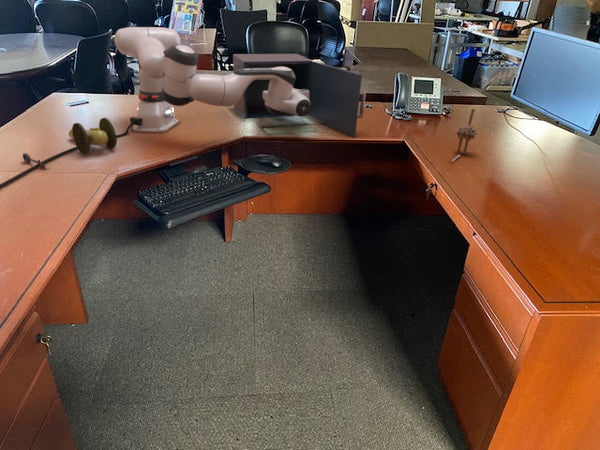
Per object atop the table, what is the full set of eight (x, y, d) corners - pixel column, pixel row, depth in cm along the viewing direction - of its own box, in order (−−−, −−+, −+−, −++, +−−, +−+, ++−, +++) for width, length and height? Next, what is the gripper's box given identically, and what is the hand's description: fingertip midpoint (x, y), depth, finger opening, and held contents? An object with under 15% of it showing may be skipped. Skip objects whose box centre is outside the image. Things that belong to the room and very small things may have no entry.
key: (23, 161, 152) (20, 152, 151) (26, 161, 153) (23, 151, 151) (44, 170, 147) (42, 160, 145) (47, 169, 148) (45, 159, 146)
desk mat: (315, 131, 198) (315, 130, 198) (268, 134, 191) (268, 133, 191) (301, 119, 213) (301, 119, 212) (256, 122, 205) (256, 121, 205)
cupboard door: (320, 116, 219) (323, 60, 206) (364, 134, 197) (372, 73, 184) (308, 117, 216) (312, 61, 203) (353, 136, 193) (359, 74, 180)
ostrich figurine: (456, 149, 186) (466, 106, 177) (472, 153, 182) (483, 109, 174) (442, 160, 173) (452, 114, 165) (459, 164, 170) (470, 118, 161)
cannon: (59, 141, 171) (52, 112, 165) (89, 135, 179) (84, 107, 173) (90, 159, 157) (84, 128, 151) (121, 152, 165) (117, 122, 159)
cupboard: (309, 117, 217) (312, 60, 204) (244, 121, 206) (243, 61, 193) (294, 106, 233) (297, 53, 220) (234, 109, 222) (232, 54, 209)
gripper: (267, 107, 189) (258, 99, 200) (311, 105, 196) (300, 97, 207) (267, 92, 186) (258, 84, 197) (312, 90, 193) (301, 83, 204)
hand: (280, 91), depth 202 cm, fingers closed on steel tumbler, 6 cm apart
